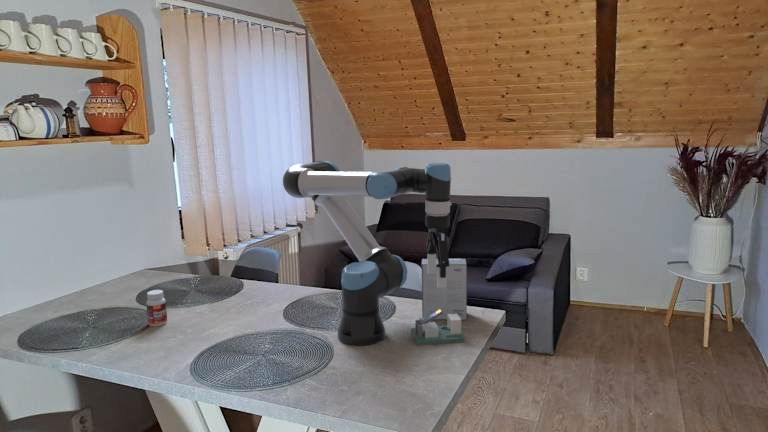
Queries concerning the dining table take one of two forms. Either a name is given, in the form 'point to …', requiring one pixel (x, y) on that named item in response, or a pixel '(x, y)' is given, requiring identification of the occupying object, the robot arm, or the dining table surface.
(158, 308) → the pill bottle
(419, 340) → the board
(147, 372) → the dining table surface
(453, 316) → the white open-sided box
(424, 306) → the hard drive box
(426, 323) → the grey rectangular bar
